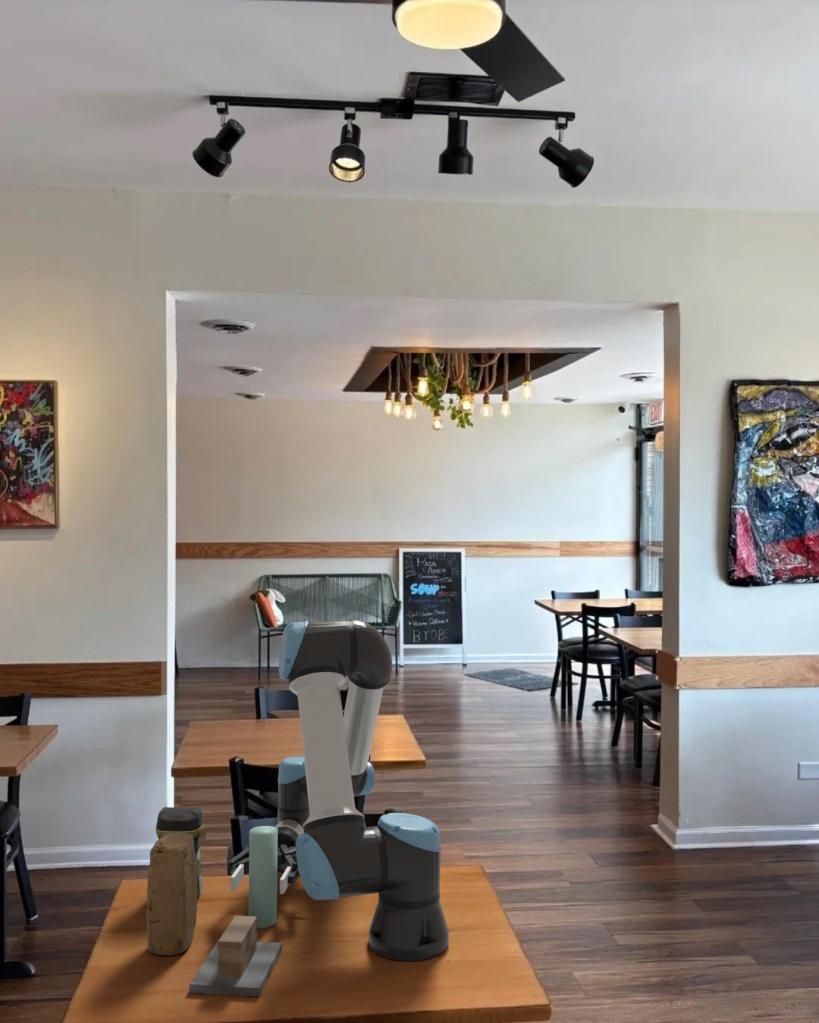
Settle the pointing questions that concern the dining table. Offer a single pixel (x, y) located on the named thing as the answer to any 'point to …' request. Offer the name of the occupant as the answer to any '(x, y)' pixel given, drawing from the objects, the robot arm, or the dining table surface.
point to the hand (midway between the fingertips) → (257, 885)
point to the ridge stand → (237, 962)
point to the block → (171, 894)
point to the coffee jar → (183, 829)
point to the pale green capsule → (263, 875)
